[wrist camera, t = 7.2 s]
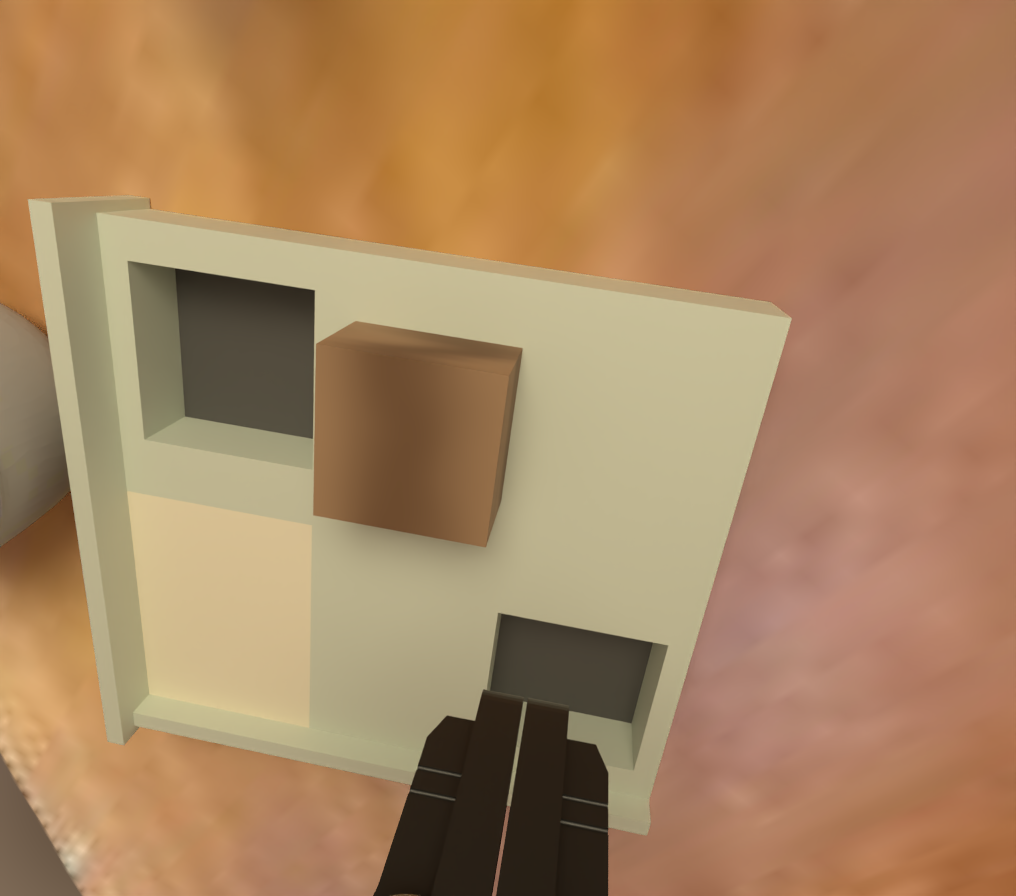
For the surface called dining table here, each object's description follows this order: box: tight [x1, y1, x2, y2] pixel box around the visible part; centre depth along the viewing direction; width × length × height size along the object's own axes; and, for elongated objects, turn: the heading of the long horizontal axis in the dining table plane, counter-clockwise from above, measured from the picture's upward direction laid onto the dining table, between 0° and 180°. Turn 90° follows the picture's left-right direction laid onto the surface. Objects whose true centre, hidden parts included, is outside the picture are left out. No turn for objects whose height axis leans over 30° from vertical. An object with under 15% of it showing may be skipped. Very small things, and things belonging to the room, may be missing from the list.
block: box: [313, 321, 523, 547], centre depth 23 cm, size 6×6×4 cm
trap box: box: [28, 195, 792, 836], centre depth 27 cm, size 25×24×5 cm
